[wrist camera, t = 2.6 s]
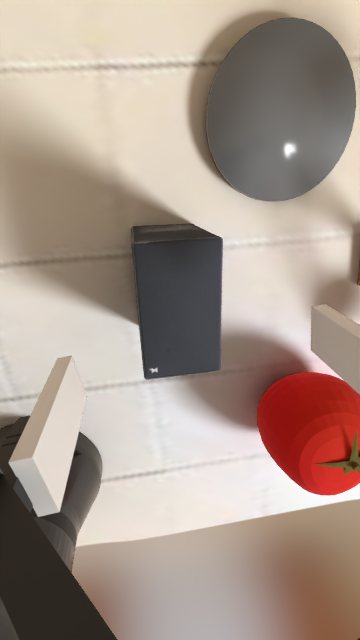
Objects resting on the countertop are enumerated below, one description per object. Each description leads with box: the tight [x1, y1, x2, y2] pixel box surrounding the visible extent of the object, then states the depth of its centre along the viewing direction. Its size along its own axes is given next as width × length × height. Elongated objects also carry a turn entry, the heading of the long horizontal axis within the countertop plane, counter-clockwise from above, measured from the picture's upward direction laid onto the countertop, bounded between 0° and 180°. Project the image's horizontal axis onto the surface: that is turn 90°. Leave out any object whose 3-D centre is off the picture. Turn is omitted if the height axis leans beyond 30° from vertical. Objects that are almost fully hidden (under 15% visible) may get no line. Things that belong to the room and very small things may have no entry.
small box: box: [131, 224, 223, 380], centre depth 26 cm, size 11×6×10 cm, turn 2°
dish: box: [206, 18, 356, 201], centre depth 26 cm, size 13×13×1 cm
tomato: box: [257, 372, 360, 495], centre depth 34 cm, size 12×14×11 cm
